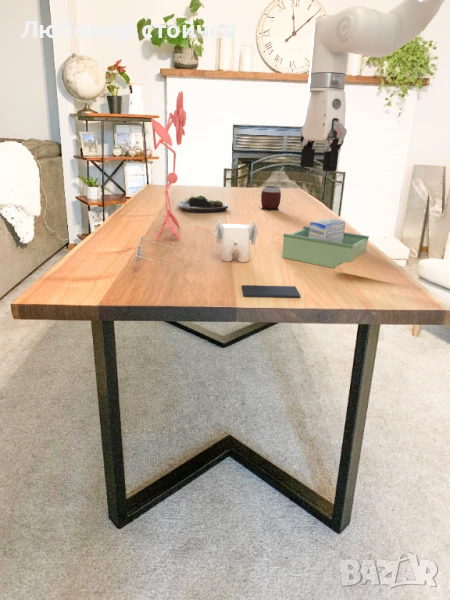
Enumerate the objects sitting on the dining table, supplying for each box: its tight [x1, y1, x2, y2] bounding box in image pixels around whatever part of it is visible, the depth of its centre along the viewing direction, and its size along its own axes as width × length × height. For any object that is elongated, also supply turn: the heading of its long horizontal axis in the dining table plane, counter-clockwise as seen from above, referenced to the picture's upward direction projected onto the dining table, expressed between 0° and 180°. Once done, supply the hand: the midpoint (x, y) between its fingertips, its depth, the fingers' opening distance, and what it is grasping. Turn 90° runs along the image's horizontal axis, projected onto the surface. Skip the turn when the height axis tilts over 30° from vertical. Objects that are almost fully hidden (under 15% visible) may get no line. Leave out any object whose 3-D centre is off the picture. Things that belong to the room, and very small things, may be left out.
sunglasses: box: [133, 235, 178, 274], centre depth 93 cm, size 14×8×5 cm, turn 5°
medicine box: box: [309, 217, 347, 243], centre depth 100 cm, size 8×4×9 cm, turn 134°
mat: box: [241, 284, 301, 299], centre depth 80 cm, size 10×5×1 cm, turn 92°
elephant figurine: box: [213, 218, 259, 263], centre depth 98 cm, size 10×12×9 cm
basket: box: [281, 225, 370, 269], centre depth 101 cm, size 16×12×6 cm
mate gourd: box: [260, 166, 285, 212], centre depth 159 cm, size 8×8×15 cm
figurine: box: [149, 90, 214, 244], centre depth 112 cm, size 15×26×35 cm, turn 2°
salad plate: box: [176, 195, 229, 214], centre depth 158 cm, size 19×18×5 cm
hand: (317, 168), depth 100 cm, fingers open, 9 cm apart
